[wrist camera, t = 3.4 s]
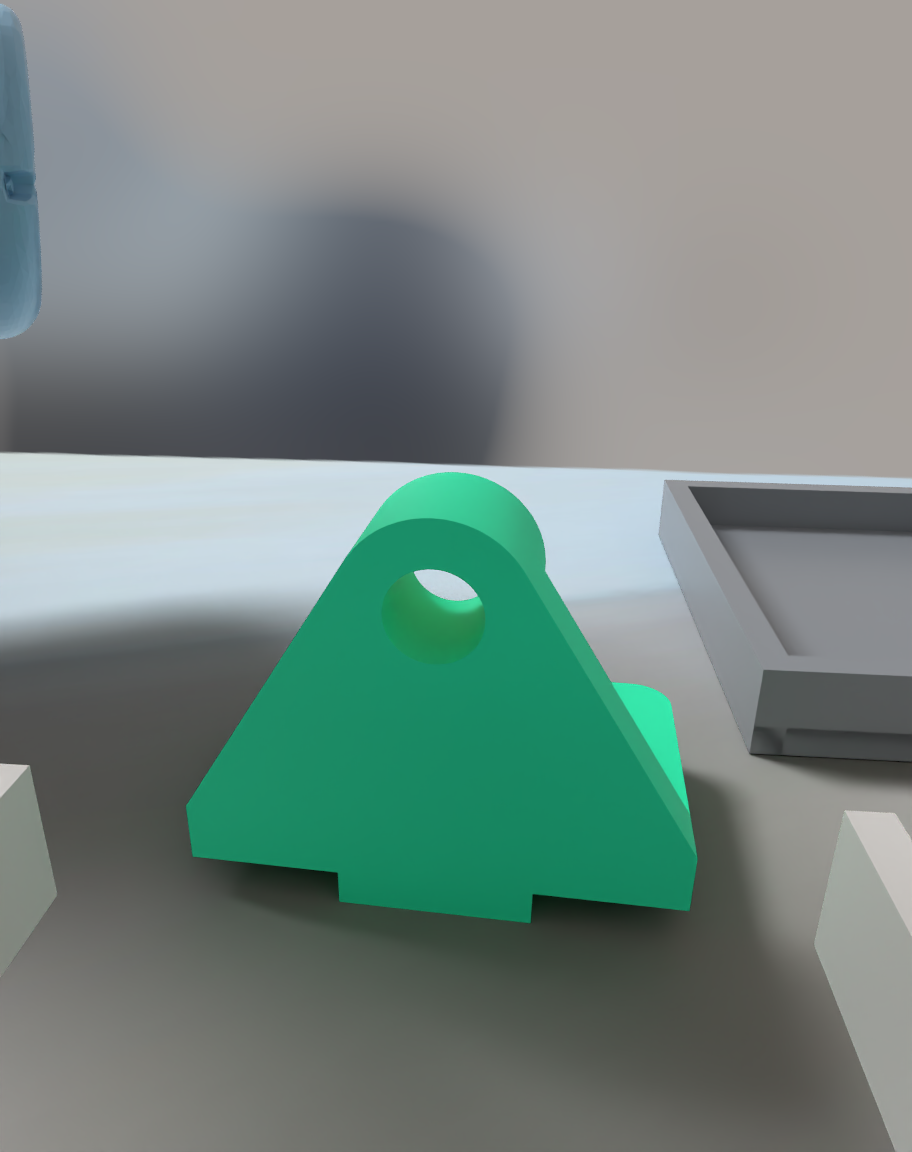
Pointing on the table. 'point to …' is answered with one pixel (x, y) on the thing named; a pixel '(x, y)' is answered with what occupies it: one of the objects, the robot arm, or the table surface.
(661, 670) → the table surface
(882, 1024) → the robot arm
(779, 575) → the tray
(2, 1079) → the table surface
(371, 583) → the green mounting bracket
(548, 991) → the table surface
